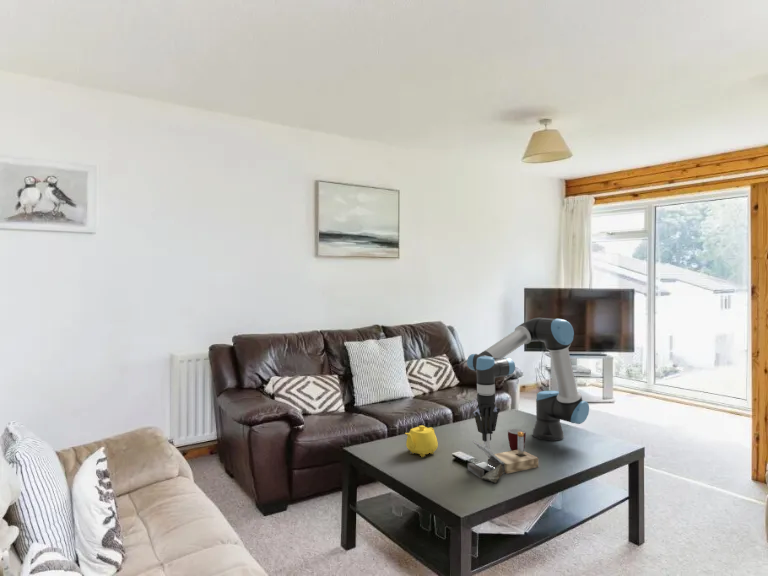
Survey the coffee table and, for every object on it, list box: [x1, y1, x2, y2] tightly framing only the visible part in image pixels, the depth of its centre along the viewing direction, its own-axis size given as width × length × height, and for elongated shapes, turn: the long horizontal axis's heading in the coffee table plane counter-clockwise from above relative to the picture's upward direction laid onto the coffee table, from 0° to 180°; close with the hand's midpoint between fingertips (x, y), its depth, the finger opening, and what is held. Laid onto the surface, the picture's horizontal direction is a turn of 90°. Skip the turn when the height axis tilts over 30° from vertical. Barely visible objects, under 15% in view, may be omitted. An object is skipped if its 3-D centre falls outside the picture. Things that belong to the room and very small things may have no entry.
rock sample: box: [481, 464, 504, 484], centre depth 204 cm, size 10×8×9 cm
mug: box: [507, 428, 527, 451], centre depth 233 cm, size 10×8×10 cm
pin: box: [518, 432, 525, 457], centre depth 220 cm, size 3×3×14 cm
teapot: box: [404, 425, 439, 458], centre depth 234 cm, size 14×20×13 cm
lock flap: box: [472, 440, 505, 465], centre depth 213 cm, size 1×10×13 cm
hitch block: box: [467, 450, 539, 479], centre depth 216 cm, size 30×12×4 cm, turn 115°
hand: (487, 448), depth 212 cm, fingers closed
